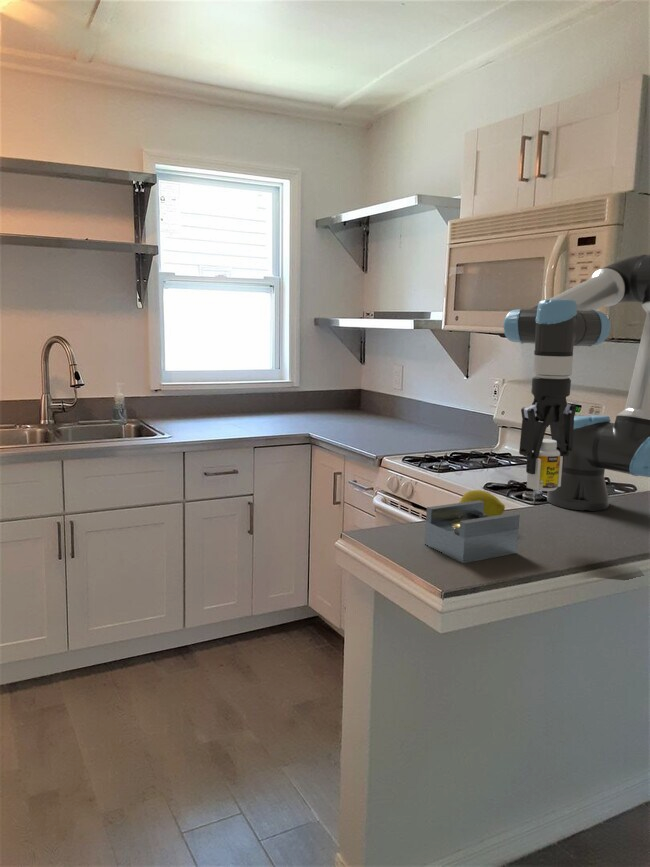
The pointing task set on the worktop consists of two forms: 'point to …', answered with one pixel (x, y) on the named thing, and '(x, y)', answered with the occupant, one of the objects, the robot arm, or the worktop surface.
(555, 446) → the supplement bottle
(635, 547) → the worktop surface
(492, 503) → the lemon
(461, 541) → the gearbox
